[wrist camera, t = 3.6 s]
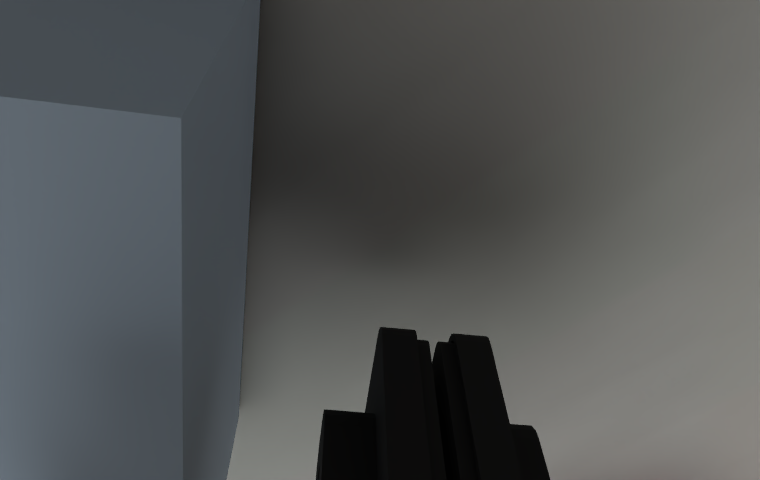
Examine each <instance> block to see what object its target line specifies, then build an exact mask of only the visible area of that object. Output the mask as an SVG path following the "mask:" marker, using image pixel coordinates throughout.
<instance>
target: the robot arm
mask: <svg viewBox="0 0 760 480" xmlns="http://www.w3.org/2000/svg"><path fill="white" fill-rule="evenodd" d="M316 480H550V477H549V473H548V470H547V466H546V463H545V459H544V455H543V452H542V448H541V445H540V441H539V438H538V435H537V433H536V430H535V429H534V428H533V427H532V426H528V425H515V424H510V423H509V419H508V415H507V410H506V406H505V402H504V398H503V394H502V390H501V385H500V381H499V377H498V373H497V369H496V365H495V360H494V356H493V352H492V348H491V344H490V341H489V338H488V337H487V336H475V335H464V334H451V336H450V338H449V341H448V342H438V343H437V345H436V348H435V352H434V357H433V361H431V353H430V346H429V342H428V341H426V340H417V334H416V331H415V330H408V329H397V328H386V327H380V329H379V333H378V338H377V344H376V350H375V356H374V362H373V368H372V374H371V380H370V386H369V391H368V397H367V403H366V409H365V413H362V412H349V411H336V410H324V413H323V420H322V427H321V435H320V443H319V452H318V462H317V473H316Z"/></svg>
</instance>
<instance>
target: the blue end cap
mask: <svg viewBox="0 0 760 480" xmlns="http://www.w3.org/2000/svg"><path fill="white" fill-rule="evenodd" d="M259 18H260V0H0V480H226V479H227V474H228V468H229V463H230V458H231V453H232V448H233V443H234V438H235V432H236V427H237V422H238V417H239V403H240V383H241V364H242V345H243V326H244V307H245V287H246V268H247V249H248V230H249V210H250V191H251V172H252V153H253V134H254V114H255V95H256V76H257V57H258V37H259Z"/></svg>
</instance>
